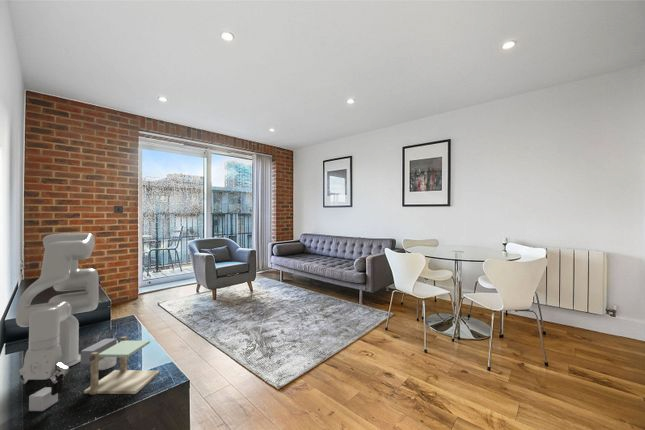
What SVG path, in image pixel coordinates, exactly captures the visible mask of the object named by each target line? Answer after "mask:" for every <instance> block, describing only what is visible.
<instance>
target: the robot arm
mask: <svg viewBox="0 0 645 430" xmlns="http://www.w3.org/2000/svg"><path fill="white" fill-rule="evenodd" d="M95 244H96V239H95V236H94V234H92V233H90V232H69V233H68V232H66V233H65V232H64V233H61V232H60V233H52V234H48V235H45V236H44V237H43V238H42V245H43V248H44V252H43V257H42V258H43V259H42V263H41V271H40V276H39V278H38V279H36V280H35V281H34V282H33V283H31V284H30V285H29V286H28V287H27V288H26V289H25V290H24V291H23V293H22V294H21V296H20V297H19V300H18V303H17V304H18V305H17V309H16V313H15V314H16V315H15V323H16V325H17V326H19V327H20V328H27V327H29V328H28V349H27V350H26V351H25V356H24V360H23V366H22V367H21V368H20V369H18V373H19V375H20V379H22V383H23V384H24V396H28V395H31V394H32V393H35V392H37V391H36V390H37V380H38V381H40V380H41V381H42V380H44V381H45V380H48V379H50V380H51V382H52V383H51V395H55V394H57V393H58V394H59V393H60V392H62V391H63V380H64V379H65V377H66V376H68V372H69V370H70V367H72V366H74V365H76V364H78V363H81V353H79V345H80V344H79V342H80V341H79V339H80V338H79V336H80V335H79V333H80V332H79V329H80V326H79V325H80V323H79V320H78V319H77V318H76V316H74V315H75V314H80V313H85V312H86V313H87V312H93V311H95V310H96V309H97V308H98V307H99V299H100V298H99V297H100V293H99V292H100V291H99V290H100V289H99V288H100V284H99V282H100V280H99V279H100V277H99V273H98V270H97V269H95V268H92V267H91V268H90V267H89V268H79V260H80V261H81V260H82V261H83V260H87V259H89V258H90V257H91V255H92V254H93V250H94V248H95ZM49 288H53V290H55V291H56V292H67V291H76V290H85V291H78V292H69V293H63V294H62V293H61V294H58V295H55V296H53V297H51V298H50V299H49V300H48V302H44V303H38V304H37V303H36V304H31V303H32V301H33V299H34V298H35V297H36V296H37V295H38V294H40V293H41V292H43V291H45V290H47V289H49ZM56 376H57V377H56Z"/></svg>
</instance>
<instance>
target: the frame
mask: <svg viewBox="0 0 645 430" xmlns="http://www.w3.org/2000/svg"><path fill="white" fill-rule="evenodd" d="M121 341H129V338H128V336H121V337H120V342H121ZM119 358H120V359H119V360H120V364H119V366H120V369H114V370H113V371H112V372H109V373H108V374H107V375H106V376H104V377H102V378H101V379H99V372H100V370H99V352H93V353H91V357H90V358H89V360H90V361H91V364H90V383H89V384H90V386H89V387H88V388H86V389H85V390H83V392H84V393H83V394H89V395H97V394H108V395H109V394H110V395H113V394H114V395H116V394H119V395H136V394H138V392H140V391H141V390H142V389H143V388H144V387H145V386H146V385H148V384H149V383H150V382H151V381H153V379H155V378H156V377H157V376H158V375H159V374H160V373H161V370H160V369H159V370H157V369H156V370H151V369H149V370H147V369H143V370H139V369H138V370H137V369H136V370H135V369H133V370H132V369H128V357H119Z"/></svg>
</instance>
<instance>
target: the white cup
mask: <svg viewBox="0 0 645 430" xmlns="http://www.w3.org/2000/svg"><path fill="white" fill-rule="evenodd" d="M117 343H119V341H118V340H117ZM117 358H118V357H105V358H103V359H101V360H100V361H99V371H104V370H108V369H110V368H114V367H115V366H116V365H117Z"/></svg>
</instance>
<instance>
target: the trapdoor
mask: <svg viewBox="0 0 645 430" xmlns="http://www.w3.org/2000/svg"><path fill="white" fill-rule="evenodd" d="M117 339H118V338H103V339H101V340H100V341H98V342H96V343H94V344H92V345H90V346H87V347H86V348H84V349H82V350H80V354H81V361H80V365H91V361H90V360H89V358H90V357H91V353H93V352H99V361H100V360H101V359H103V358H105V357H117V358H120V357H127V358H129V357H132V355H134V354H135V353H137V352H139V351H140V350H142V349H143V348H144V347H146V346H148V345H149V344H150V343H151V340H128V341H121V340H120V342H119V341H118V340H117ZM117 341H118V343H117Z"/></svg>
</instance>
